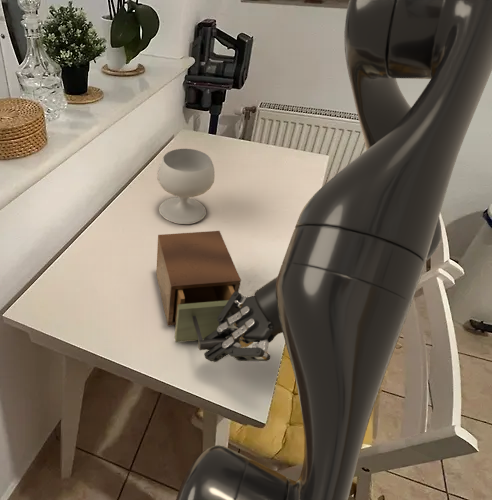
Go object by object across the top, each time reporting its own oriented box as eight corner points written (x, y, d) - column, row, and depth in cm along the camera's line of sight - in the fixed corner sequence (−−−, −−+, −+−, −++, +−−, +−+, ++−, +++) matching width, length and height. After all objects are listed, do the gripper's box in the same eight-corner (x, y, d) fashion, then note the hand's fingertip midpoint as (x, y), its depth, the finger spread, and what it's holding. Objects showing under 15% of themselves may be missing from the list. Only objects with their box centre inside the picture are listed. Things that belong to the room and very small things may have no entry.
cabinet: (232, 320, 84) (241, 280, 77) (167, 325, 83) (171, 286, 76) (213, 269, 95) (219, 230, 88) (156, 273, 94) (158, 234, 87)
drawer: (248, 367, 75) (258, 335, 69) (183, 374, 73) (187, 341, 68) (217, 285, 90) (223, 252, 84) (163, 289, 89) (165, 257, 83)
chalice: (147, 201, 115) (149, 150, 105) (195, 192, 119) (200, 142, 109) (168, 232, 105) (171, 178, 95) (218, 221, 109) (227, 169, 99)
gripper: (265, 254, 68) (183, 312, 75) (300, 320, 58) (201, 381, 64) (289, 275, 72) (209, 329, 79) (325, 341, 62) (230, 396, 68)
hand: (206, 352), depth 71 cm, fingers closed on drawer
